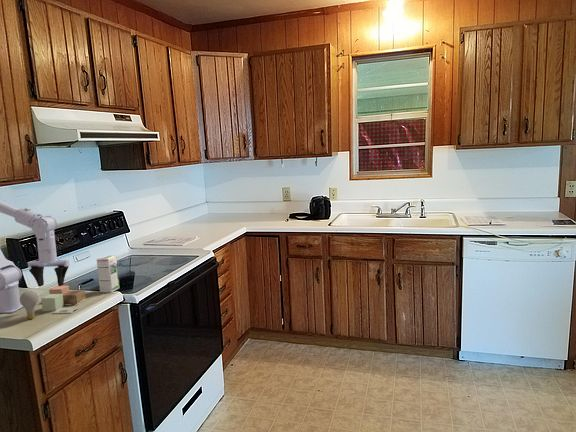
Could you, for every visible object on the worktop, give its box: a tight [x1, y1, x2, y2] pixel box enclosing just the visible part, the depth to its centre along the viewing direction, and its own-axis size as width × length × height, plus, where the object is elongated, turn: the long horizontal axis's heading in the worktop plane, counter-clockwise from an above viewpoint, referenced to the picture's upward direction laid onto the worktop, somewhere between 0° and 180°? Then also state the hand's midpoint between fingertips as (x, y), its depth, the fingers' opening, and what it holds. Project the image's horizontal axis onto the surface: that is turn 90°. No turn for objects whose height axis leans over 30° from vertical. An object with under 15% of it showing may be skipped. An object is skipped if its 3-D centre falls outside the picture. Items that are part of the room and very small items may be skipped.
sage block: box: [41, 293, 65, 312], centre depth 156 cm, size 5×5×5 cm
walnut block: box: [63, 290, 87, 306], centre depth 163 cm, size 6×6×4 cm
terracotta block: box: [48, 285, 70, 294], centre depth 167 cm, size 5×5×5 cm
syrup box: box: [96, 255, 120, 293], centre depth 176 cm, size 6×6×14 cm
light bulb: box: [19, 290, 39, 320], centre depth 145 cm, size 6×6×10 cm
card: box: [51, 307, 75, 315], centre depth 153 cm, size 7×5×1 cm
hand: (51, 285), depth 155 cm, fingers open, 7 cm apart
